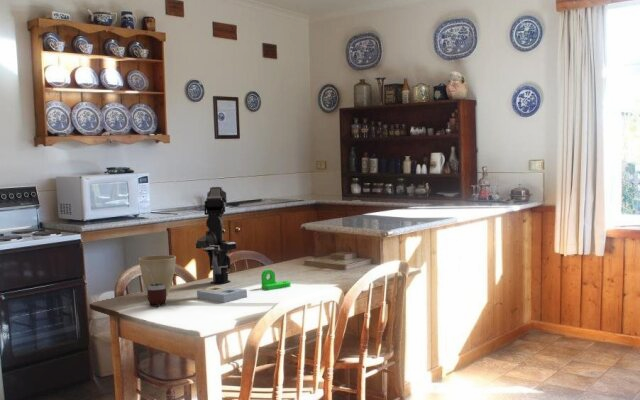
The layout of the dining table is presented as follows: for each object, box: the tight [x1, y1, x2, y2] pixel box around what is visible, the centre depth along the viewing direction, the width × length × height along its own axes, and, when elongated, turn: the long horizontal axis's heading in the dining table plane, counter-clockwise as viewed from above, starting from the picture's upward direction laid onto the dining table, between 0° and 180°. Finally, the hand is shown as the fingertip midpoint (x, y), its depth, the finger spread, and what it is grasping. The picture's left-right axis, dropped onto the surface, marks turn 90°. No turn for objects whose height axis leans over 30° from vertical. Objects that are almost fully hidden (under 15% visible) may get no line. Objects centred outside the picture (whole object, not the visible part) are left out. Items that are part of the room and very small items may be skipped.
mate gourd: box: [144, 266, 167, 308], centre depth 252 cm, size 8×8×15 cm
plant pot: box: [138, 254, 177, 297], centre depth 270 cm, size 15×15×16 cm
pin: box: [212, 249, 221, 275], centre depth 269 cm, size 3×3×10 cm
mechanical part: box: [260, 268, 292, 291], centre depth 280 cm, size 12×6×8 cm, turn 123°
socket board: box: [196, 285, 248, 304], centre depth 262 cm, size 16×12×3 cm
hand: (216, 266), depth 269 cm, fingers closed on pin, 3 cm apart
